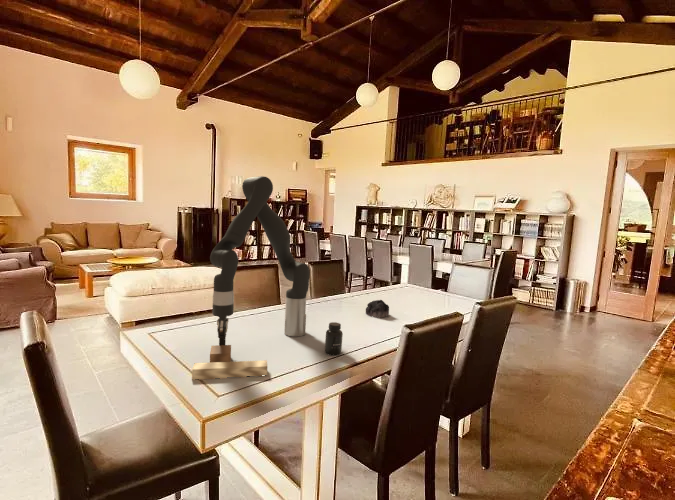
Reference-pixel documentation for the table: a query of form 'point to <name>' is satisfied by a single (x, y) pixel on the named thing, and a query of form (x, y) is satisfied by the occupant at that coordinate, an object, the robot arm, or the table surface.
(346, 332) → the table surface
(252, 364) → the ash board
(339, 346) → the supplement bottle
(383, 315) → the black rock
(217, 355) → the walnut block
